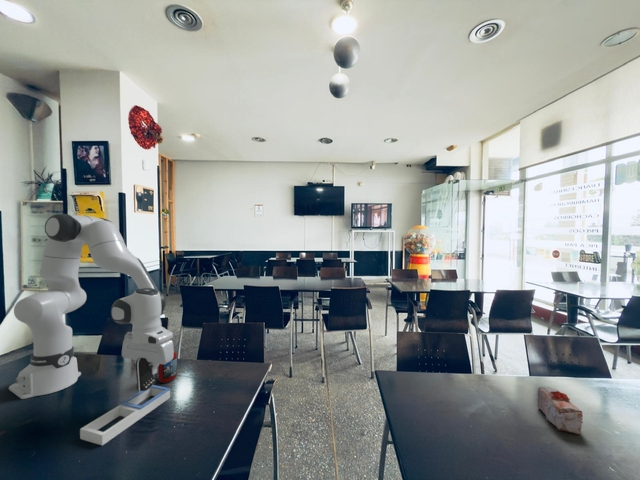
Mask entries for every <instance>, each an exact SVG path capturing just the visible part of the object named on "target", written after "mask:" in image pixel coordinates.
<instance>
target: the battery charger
mask: <svg viewBox="0 0 640 480" xmlns="http://www.w3.org/2000/svg"><path fill="white" fill-rule="evenodd" d="M151 368H153V365H152V362H148V361H147V359H146V358H141V357H140V358H138V359H137V361H136V365H135V374H136V384H137V385H136V387H137V388H136V389H137V392H140V391H145V390H147V389H149V388H150V387H151V386H152V385H155V383H156V382H157V380H156V378H155V376H154V374H150V369H151Z"/></svg>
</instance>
